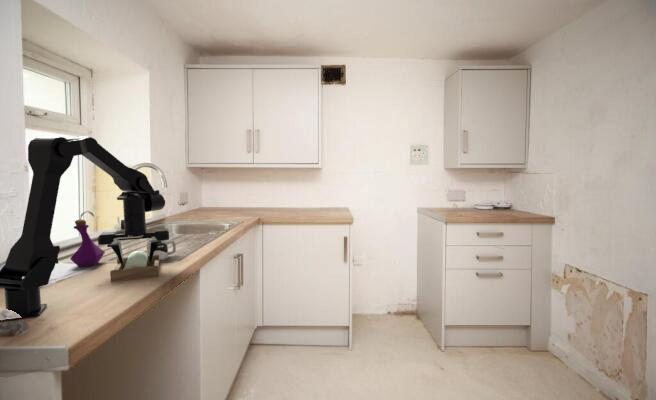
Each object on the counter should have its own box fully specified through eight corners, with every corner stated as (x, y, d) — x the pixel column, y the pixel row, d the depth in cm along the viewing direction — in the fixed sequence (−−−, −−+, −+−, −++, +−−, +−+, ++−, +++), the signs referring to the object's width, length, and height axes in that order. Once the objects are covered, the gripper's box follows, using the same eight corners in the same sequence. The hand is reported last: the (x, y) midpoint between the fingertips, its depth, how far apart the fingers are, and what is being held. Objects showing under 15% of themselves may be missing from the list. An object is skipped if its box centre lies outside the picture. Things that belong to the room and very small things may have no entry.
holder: (158, 276, 100) (157, 266, 100) (110, 281, 95) (110, 271, 95) (159, 262, 115) (158, 254, 115) (117, 266, 110) (117, 257, 109)
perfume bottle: (70, 268, 107) (66, 212, 106) (80, 262, 115) (77, 210, 113) (97, 267, 109) (94, 212, 108) (105, 261, 117) (103, 209, 115)
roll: (146, 275, 102) (145, 257, 101) (124, 277, 99) (123, 259, 99) (148, 266, 111) (147, 249, 110) (128, 268, 108) (127, 251, 108)
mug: (152, 262, 116) (151, 243, 115) (143, 259, 120) (143, 240, 119) (180, 256, 123) (179, 238, 123) (171, 253, 128) (171, 236, 127)
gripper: (168, 209, 115) (169, 254, 116) (102, 212, 107) (105, 260, 108) (168, 213, 105) (169, 262, 106) (96, 216, 97) (99, 269, 98)
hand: (136, 263), depth 105 cm, fingers open, 7 cm apart
